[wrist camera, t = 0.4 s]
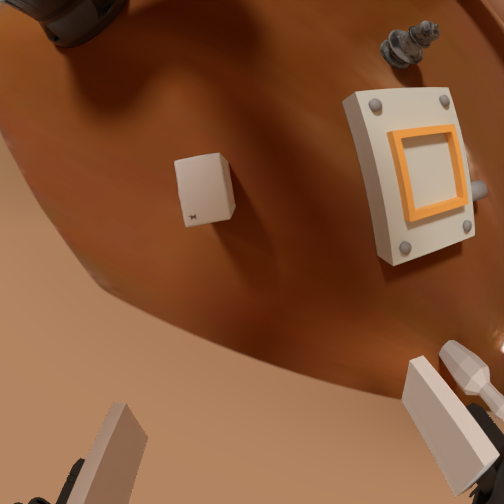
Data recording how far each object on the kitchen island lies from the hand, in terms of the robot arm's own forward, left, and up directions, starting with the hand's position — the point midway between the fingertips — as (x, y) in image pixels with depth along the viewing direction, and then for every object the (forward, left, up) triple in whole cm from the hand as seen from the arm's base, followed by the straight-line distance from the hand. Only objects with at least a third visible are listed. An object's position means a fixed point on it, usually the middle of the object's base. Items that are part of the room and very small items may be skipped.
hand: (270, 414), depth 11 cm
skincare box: (-10, -2, -27) cm, 29 cm away
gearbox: (-6, +27, -27) cm, 39 cm away
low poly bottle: (+30, +32, -27) cm, 52 cm away
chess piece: (-24, +29, -27) cm, 46 cm away
